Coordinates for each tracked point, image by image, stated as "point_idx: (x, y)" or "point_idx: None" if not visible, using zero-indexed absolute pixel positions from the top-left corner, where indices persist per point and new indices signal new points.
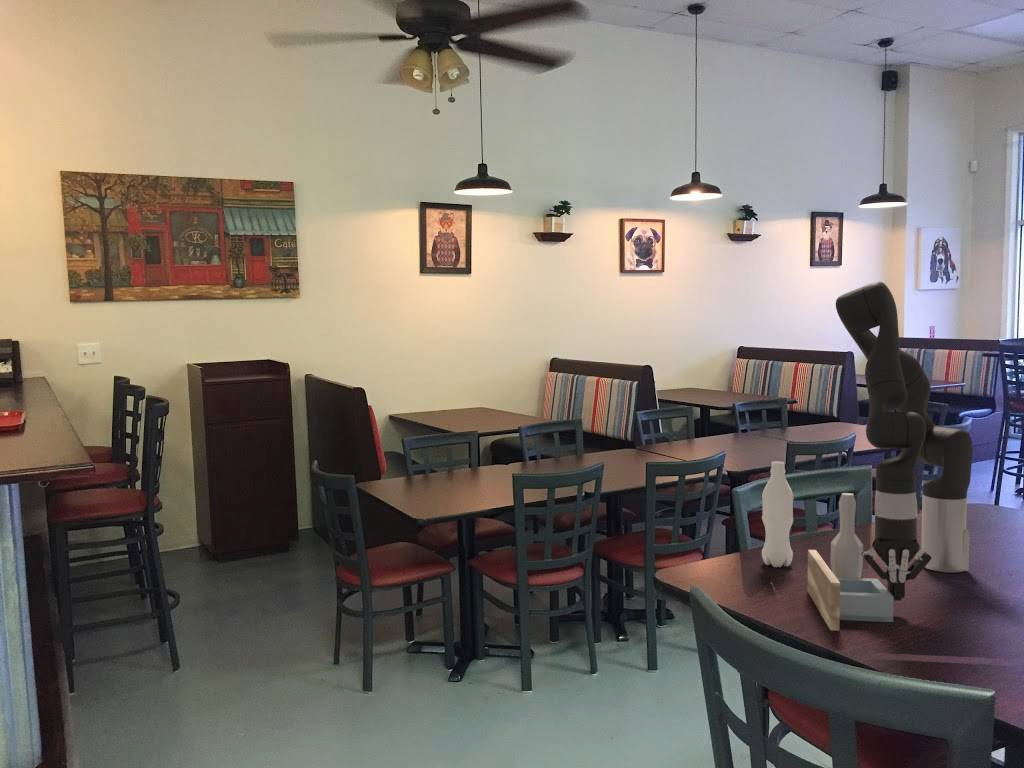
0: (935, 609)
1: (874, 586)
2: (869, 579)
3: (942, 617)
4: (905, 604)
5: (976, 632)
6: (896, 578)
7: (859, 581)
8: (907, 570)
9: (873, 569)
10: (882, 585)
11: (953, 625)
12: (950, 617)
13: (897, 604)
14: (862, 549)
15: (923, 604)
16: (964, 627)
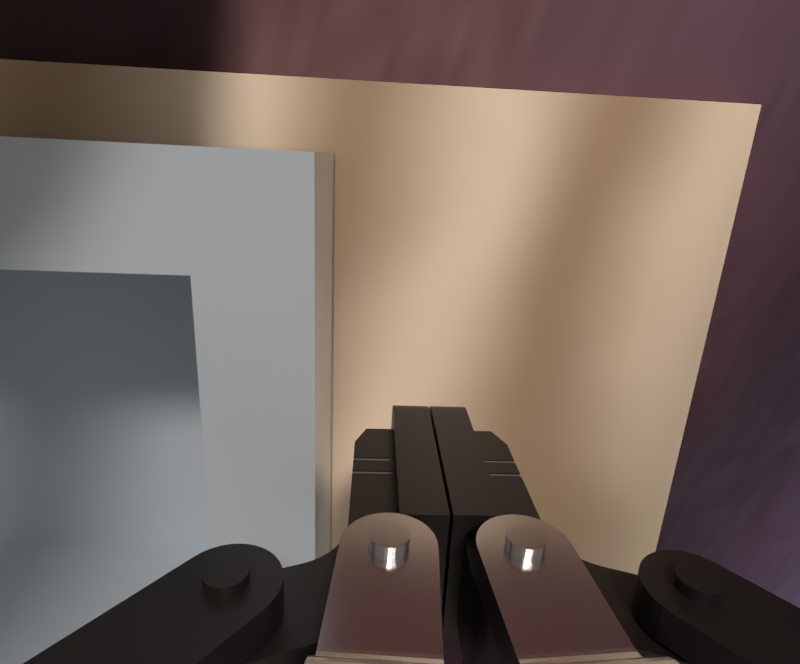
0: (786, 178)
1: (207, 441)
2: (183, 204)
3: (735, 348)
4: (608, 63)
5: (782, 564)
6: (467, 579)
7: (31, 269)
8: (698, 662)
9: (70, 654)
10: (302, 446)
11: (719, 478)
12: (789, 343)
13: (538, 68)
14: None
15: (761, 52)
16: (765, 502)
